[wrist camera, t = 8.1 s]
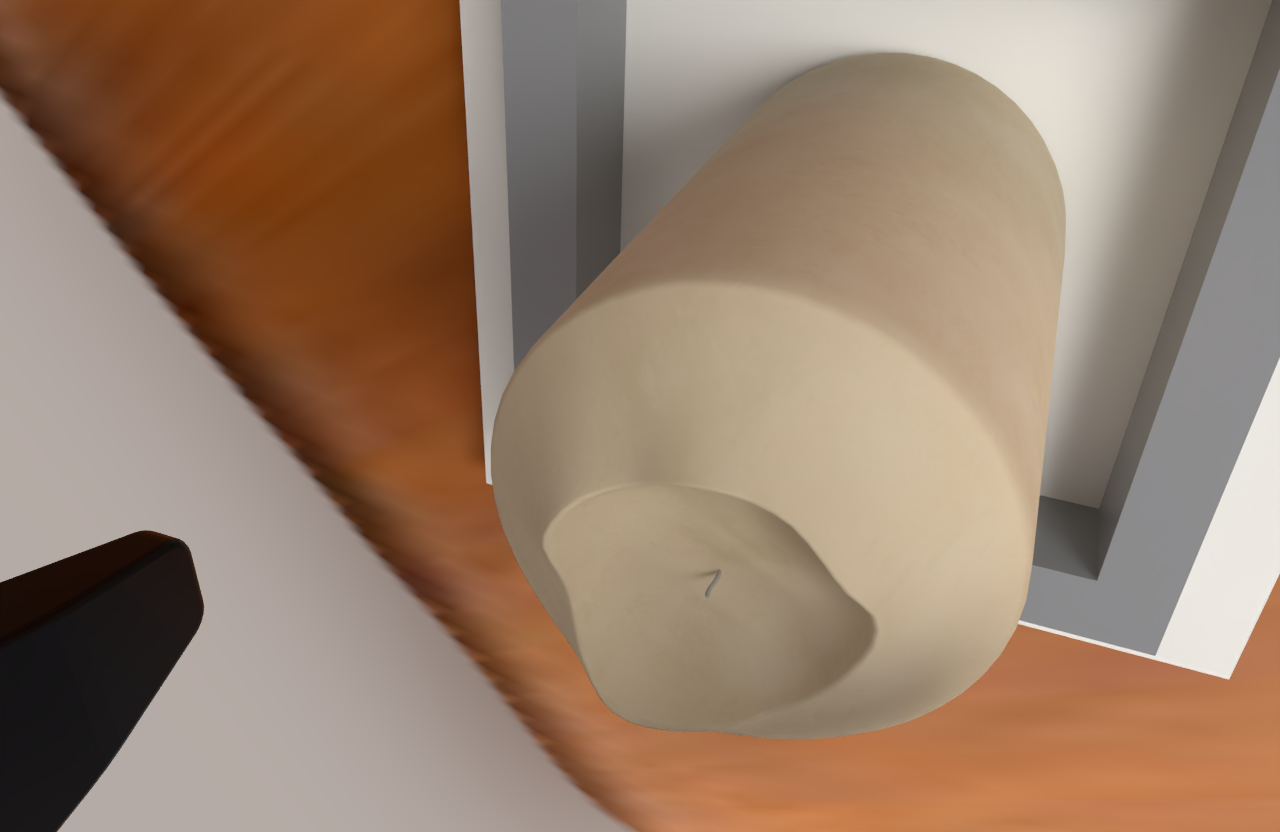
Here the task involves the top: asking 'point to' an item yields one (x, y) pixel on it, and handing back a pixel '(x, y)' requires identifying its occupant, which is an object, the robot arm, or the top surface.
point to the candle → (803, 415)
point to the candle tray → (1093, 265)
